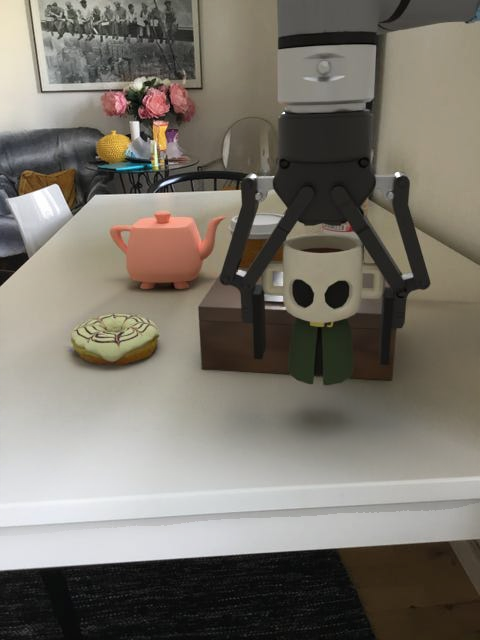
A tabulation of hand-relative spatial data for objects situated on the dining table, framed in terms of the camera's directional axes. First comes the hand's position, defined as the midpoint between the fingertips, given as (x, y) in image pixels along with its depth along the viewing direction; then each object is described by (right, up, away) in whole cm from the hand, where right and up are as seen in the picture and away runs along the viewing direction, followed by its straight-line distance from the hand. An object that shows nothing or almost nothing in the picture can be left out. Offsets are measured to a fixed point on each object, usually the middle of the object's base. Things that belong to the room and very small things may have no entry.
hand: (320, 355), depth 54 cm
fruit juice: (+15, +21, +69) cm, 73 cm away
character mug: (0, -2, +1) cm, 2 cm away
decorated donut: (-23, -1, +19) cm, 30 cm away
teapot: (-19, +10, +45) cm, 50 cm away
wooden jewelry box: (0, 0, +19) cm, 19 cm away
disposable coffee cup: (-4, +8, +38) cm, 39 cm away
